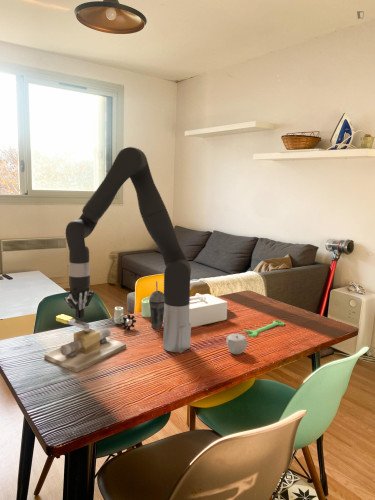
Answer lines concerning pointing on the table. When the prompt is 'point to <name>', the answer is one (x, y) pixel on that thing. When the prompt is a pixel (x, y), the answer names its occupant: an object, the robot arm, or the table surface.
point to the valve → (123, 318)
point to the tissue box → (206, 309)
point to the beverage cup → (156, 308)
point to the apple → (236, 343)
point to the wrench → (264, 328)
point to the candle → (146, 307)
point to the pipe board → (85, 358)
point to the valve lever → (73, 322)
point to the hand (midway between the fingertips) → (79, 318)
